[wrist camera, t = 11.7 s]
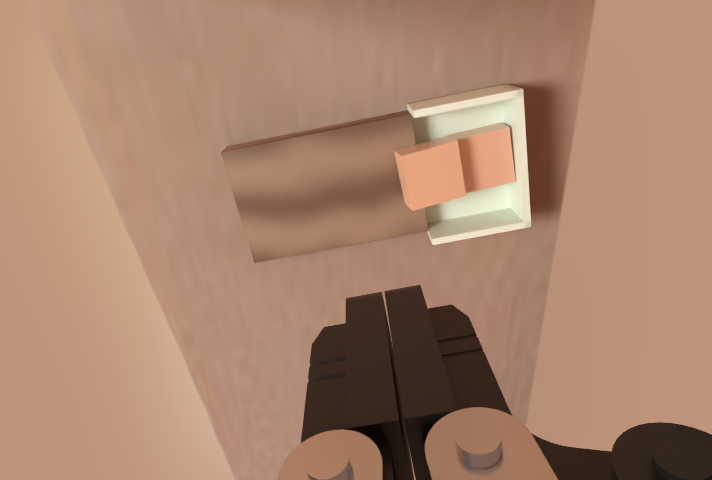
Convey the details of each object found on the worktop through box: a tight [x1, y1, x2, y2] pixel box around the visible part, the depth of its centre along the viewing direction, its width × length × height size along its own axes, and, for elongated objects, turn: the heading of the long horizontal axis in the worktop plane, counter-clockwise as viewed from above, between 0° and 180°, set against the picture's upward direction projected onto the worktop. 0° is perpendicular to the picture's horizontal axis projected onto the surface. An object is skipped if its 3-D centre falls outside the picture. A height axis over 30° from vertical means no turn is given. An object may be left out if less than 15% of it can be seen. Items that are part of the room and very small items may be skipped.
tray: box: [407, 84, 531, 245], centre depth 44 cm, size 12×9×5 cm
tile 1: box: [394, 136, 466, 211], centre depth 43 cm, size 5×5×2 cm
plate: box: [221, 110, 428, 263], centre depth 46 cm, size 11×17×2 cm, turn 101°
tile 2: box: [447, 123, 516, 193], centre depth 44 cm, size 5×5×2 cm
